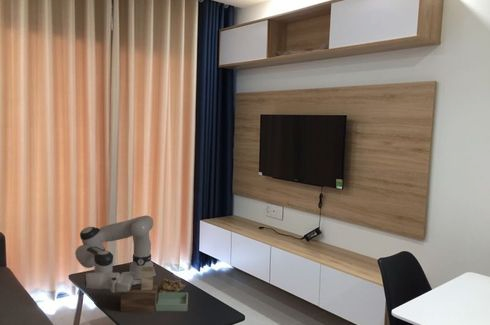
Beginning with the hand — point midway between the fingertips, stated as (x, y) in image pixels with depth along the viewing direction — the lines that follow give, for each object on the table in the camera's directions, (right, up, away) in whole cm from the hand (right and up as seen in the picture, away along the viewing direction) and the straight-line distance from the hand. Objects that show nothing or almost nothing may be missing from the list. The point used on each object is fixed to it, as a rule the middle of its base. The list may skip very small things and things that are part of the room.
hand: (141, 281), depth 230 cm
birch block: (+2, -5, +4) cm, 6 cm away
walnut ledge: (-2, -15, +4) cm, 15 cm away
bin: (+16, -15, +6) cm, 23 cm away
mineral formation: (+13, -14, +23) cm, 30 cm away
